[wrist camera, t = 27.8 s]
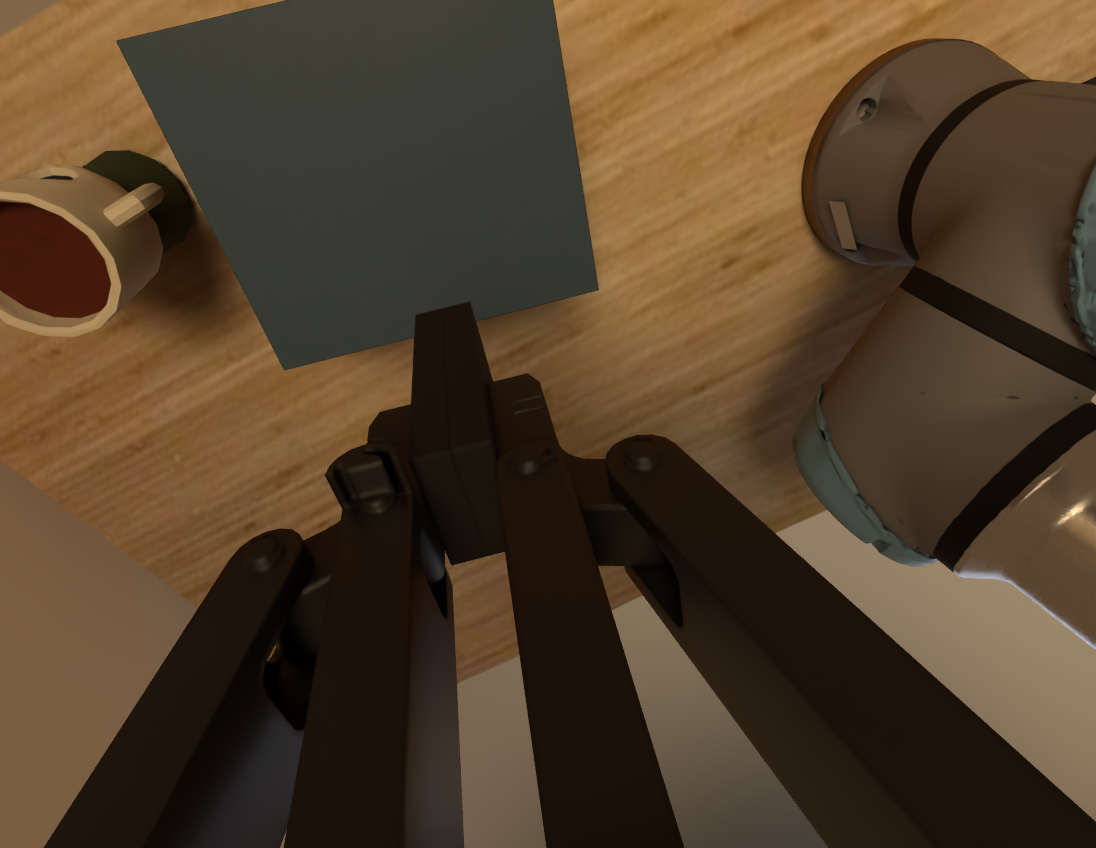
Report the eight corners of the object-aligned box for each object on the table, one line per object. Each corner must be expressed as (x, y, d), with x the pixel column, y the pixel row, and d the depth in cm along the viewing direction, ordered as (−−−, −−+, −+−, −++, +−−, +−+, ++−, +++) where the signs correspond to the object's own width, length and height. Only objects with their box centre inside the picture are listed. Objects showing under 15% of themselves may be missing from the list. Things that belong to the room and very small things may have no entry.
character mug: (163, 100, 37) (56, 134, 26) (249, 207, 41) (187, 274, 30) (24, 194, 38) (-133, 262, 27) (120, 288, 42) (16, 380, 31)
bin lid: (123, 40, 24) (115, 40, 23) (540, -59, 24) (543, -62, 24) (286, 363, 32) (284, 370, 32) (595, 285, 33) (599, 290, 32)
